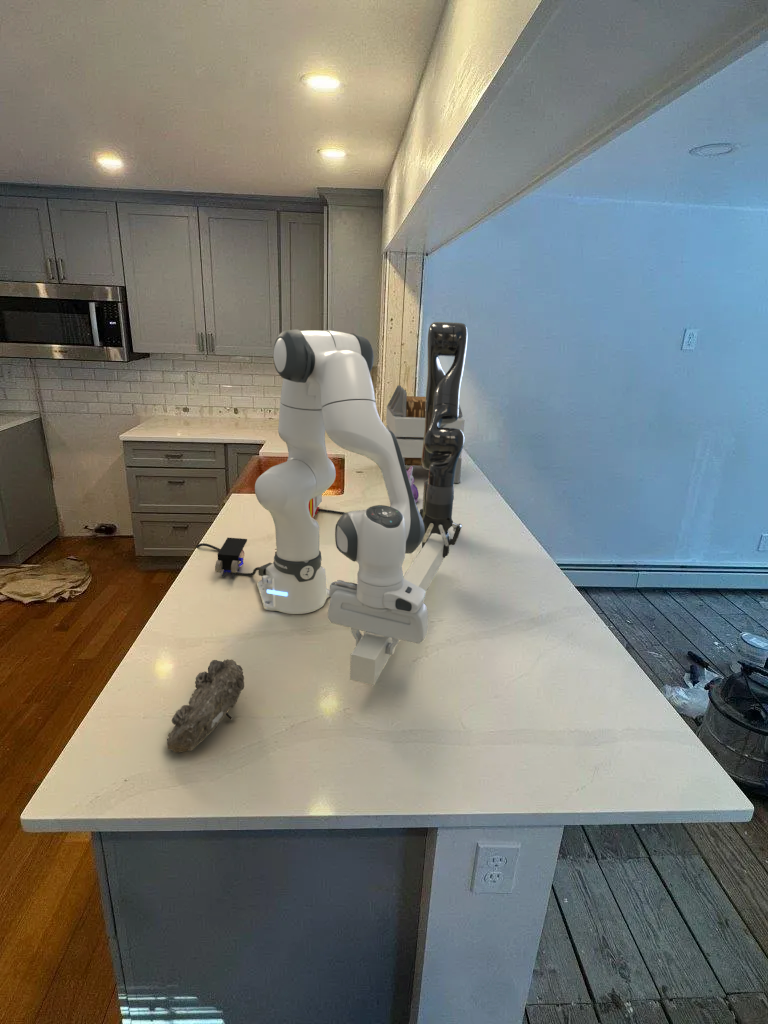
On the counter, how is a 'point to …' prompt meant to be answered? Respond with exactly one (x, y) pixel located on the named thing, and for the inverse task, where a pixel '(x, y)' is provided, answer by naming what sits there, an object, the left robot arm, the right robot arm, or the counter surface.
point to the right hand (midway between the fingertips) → (435, 554)
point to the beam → (372, 646)
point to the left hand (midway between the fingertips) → (375, 649)
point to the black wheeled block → (230, 556)
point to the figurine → (413, 487)
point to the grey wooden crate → (413, 427)
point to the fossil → (206, 705)
